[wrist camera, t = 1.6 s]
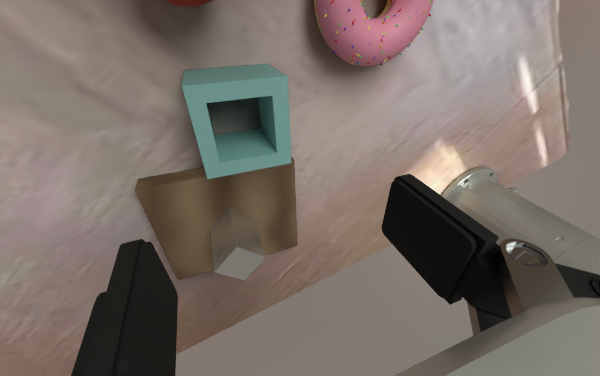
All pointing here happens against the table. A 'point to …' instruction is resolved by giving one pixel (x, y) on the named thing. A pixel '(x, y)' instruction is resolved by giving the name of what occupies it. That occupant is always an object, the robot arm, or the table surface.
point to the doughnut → (370, 28)
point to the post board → (208, 201)
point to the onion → (188, 2)
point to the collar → (249, 143)
